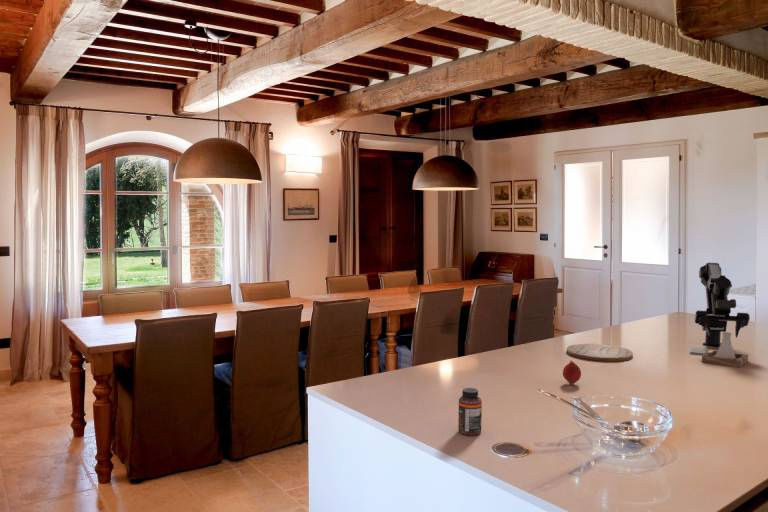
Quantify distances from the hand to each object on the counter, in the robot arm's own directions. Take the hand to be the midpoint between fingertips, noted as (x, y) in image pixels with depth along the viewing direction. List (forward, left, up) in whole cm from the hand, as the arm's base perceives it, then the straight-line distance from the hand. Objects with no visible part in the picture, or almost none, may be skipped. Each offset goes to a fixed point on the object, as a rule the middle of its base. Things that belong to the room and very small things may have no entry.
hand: (723, 336), depth 244 cm
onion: (+73, -29, -9) cm, 79 cm away
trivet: (+25, -39, -9) cm, 47 cm away
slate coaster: (-5, -8, -9) cm, 13 cm away
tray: (+5, +2, -9) cm, 10 cm away
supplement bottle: (+133, -30, -9) cm, 137 cm away
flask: (+5, +2, -8) cm, 10 cm away
